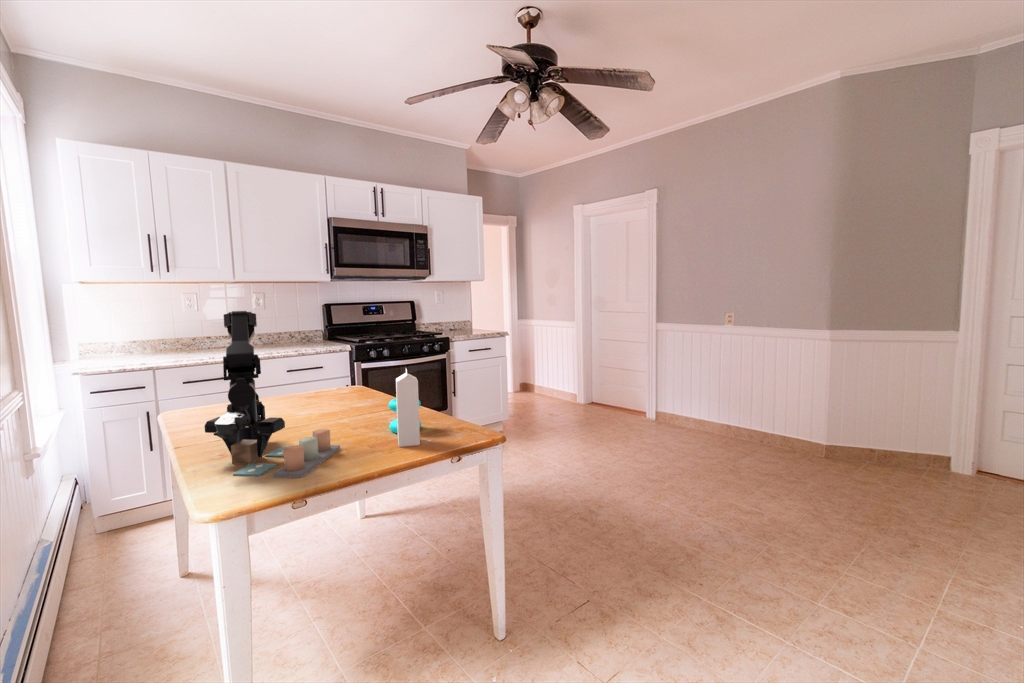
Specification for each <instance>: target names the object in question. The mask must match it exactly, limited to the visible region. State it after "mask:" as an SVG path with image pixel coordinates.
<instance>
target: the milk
mask: <svg viewBox="0 0 1024 683" xmlns="http://www.w3.org/2000/svg"><path fill="white" fill-rule="evenodd" d="M395 392H396V393H395V396H396V398H395V399H396V402H397V412H396V419H397V431H398V433H397V444H398V448H401V447H412V446H413V447H414V446H420V445H421V444H420V443H421V442H420V441H421V438H420V434H421V432H420V429H419V421H420V411H419V410H420V407H419V400H420V399H419V380H418V378H417V377H416V376H414V375H413V374H410V373H408V369H407V368H405V372H404V373H403V374H401V375H400V376H398V377H396V378H395Z"/></svg>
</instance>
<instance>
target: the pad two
mask: <svg viewBox="0 0 1024 683" xmlns="http://www.w3.org/2000/svg"><path fill="white" fill-rule="evenodd" d="M277 466H278V464H277V463H257V462H254V463H251V464H246V466H244V467H242V468H240V469H238V470H237V471H235V472H234V473H232V476H237V477H238V476H246V477H247V476H248V477H261V476H264V475H265V474H266V473H268V472H269V471H271V470H272V469H274V468H275V467H277Z"/></svg>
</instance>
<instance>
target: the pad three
mask: <svg viewBox="0 0 1024 683" xmlns="http://www.w3.org/2000/svg"><path fill="white" fill-rule="evenodd" d="M286 447H287V446H279V447H277V448H275V449H273V450H272V451H270V452H268V453H266V454H265V458H284V449H285V448H286Z"/></svg>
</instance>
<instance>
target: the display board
mask: <svg viewBox="0 0 1024 683" xmlns="http://www.w3.org/2000/svg"><path fill="white" fill-rule="evenodd" d="M285 447H286V448H285V449H284V457H283V459H284V461H283V462H284V465H283V466H281V467H280V468H279V469H277V470H276V471H274V472H273V473H272V477H273V478H288V479H289V478H293V479H294V478H298V479H301V478H303V477H304V476H305V475H307V474H308V473H310V472H311V471H313V470H314V469H315V468H316V467H317V466H319V465H321V464H322V463H323V462H325V461H326V460H327V459H328V458H330V457H331V456H333V454H335V453H337V452H338V451H339V450H341V445H340V444H331V430H330V429H328V428H323V429H317V430H314V431H312V436H307V437H302V438H300V439H299V441H298V445H291V446H290V445H289V446H285Z"/></svg>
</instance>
